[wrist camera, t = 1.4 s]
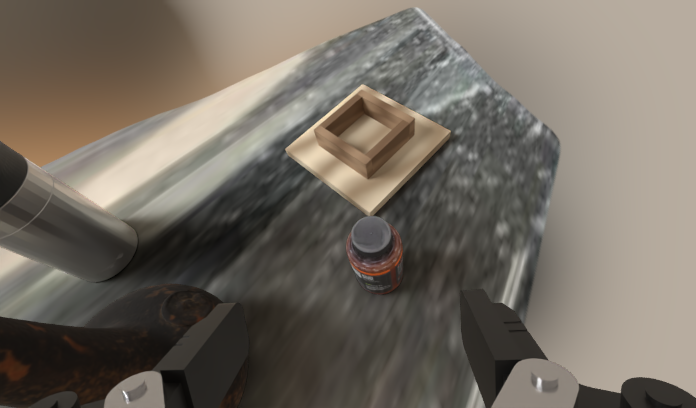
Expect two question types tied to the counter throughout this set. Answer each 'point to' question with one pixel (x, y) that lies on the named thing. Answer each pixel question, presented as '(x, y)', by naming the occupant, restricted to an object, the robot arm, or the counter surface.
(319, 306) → the counter surface
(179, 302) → the rusty bud vase
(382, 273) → the supplement bottle
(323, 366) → the counter surface
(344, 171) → the collar board
